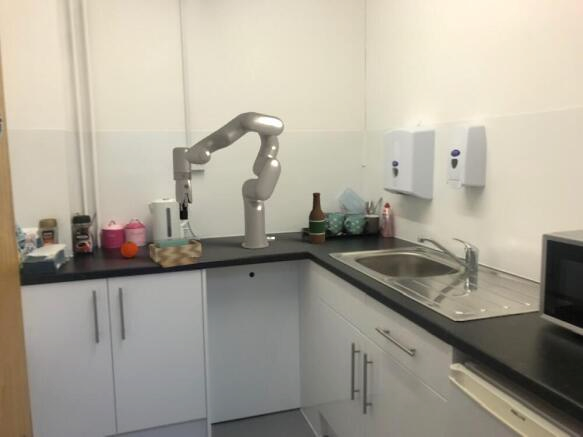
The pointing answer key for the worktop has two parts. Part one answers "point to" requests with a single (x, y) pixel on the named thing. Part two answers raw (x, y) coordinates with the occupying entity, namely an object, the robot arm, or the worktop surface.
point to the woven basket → (175, 251)
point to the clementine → (129, 249)
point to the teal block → (172, 243)
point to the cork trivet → (177, 262)
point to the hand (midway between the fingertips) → (183, 219)
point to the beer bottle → (316, 222)
